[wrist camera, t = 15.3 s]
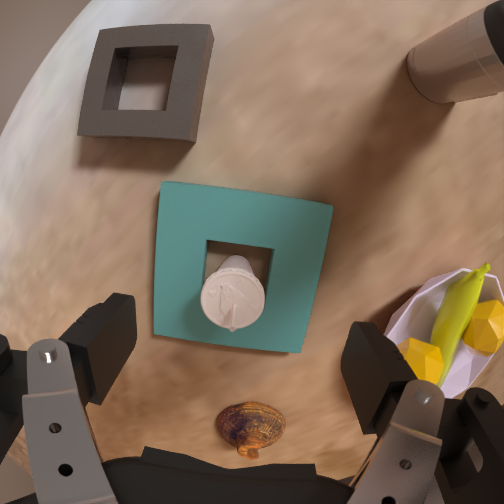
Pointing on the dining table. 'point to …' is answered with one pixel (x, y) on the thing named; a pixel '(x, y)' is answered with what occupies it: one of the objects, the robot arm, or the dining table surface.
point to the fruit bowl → (451, 328)
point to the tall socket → (181, 89)
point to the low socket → (247, 233)
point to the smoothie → (233, 294)
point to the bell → (251, 427)
